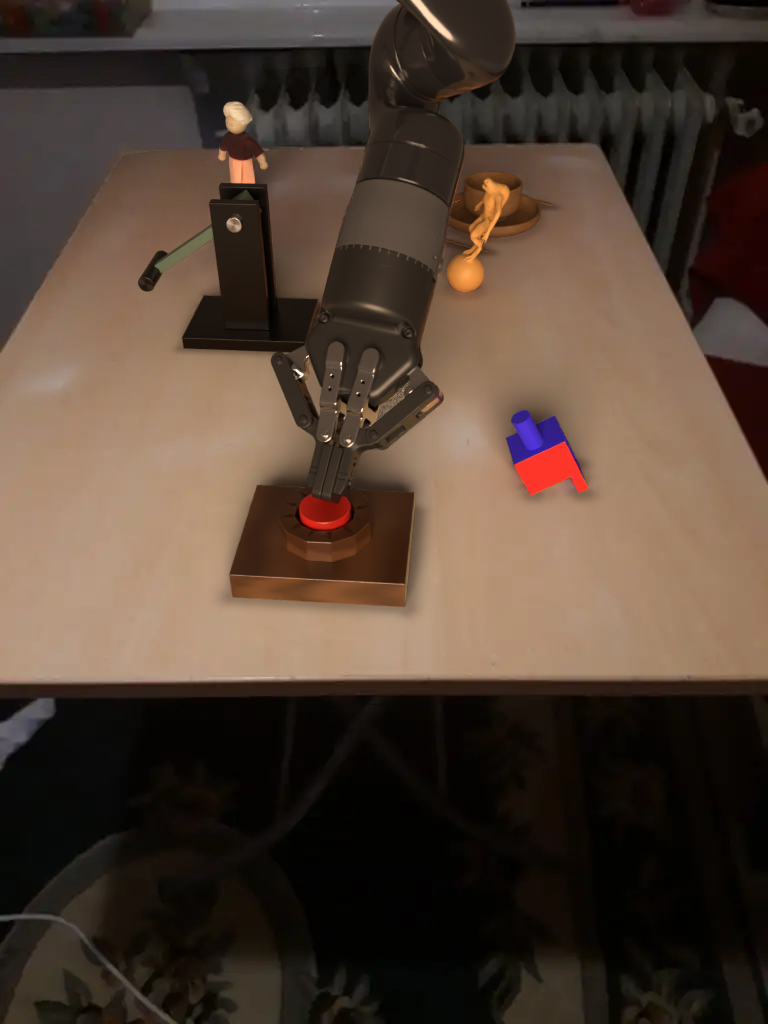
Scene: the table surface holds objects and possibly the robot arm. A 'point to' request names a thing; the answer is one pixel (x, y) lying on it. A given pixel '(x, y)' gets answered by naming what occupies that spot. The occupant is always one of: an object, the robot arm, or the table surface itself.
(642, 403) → the table surface
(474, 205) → the place setting
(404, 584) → the button block
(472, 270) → the figurine
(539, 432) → the toy building block
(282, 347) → the bracket
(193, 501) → the table surface
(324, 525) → the button
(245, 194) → the lever
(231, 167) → the grandmother figurine
